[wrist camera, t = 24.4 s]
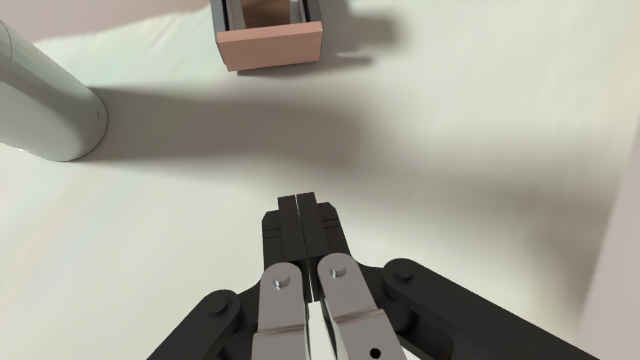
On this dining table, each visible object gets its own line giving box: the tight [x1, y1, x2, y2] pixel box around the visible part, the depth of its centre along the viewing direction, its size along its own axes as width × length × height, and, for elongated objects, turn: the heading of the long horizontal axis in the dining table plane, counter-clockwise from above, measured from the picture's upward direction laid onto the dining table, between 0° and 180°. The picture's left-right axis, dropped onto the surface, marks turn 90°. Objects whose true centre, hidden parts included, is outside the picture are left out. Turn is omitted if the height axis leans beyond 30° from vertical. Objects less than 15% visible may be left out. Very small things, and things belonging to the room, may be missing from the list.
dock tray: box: [216, 0, 323, 72], centre depth 41 cm, size 10×11×6 cm
